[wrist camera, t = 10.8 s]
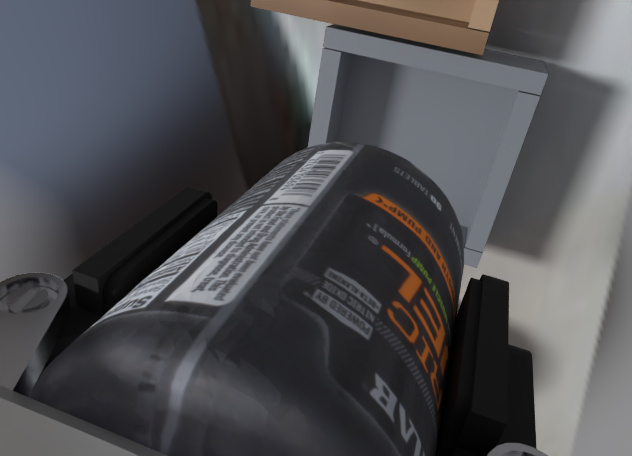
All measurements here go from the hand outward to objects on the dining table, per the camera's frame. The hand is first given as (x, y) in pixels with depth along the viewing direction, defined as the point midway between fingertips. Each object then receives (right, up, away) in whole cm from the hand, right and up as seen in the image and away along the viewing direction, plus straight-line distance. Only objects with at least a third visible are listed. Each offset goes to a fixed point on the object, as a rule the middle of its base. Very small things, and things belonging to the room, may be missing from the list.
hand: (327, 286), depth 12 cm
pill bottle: (+1, +1, +2) cm, 3 cm away
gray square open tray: (+5, +6, +13) cm, 15 cm away
